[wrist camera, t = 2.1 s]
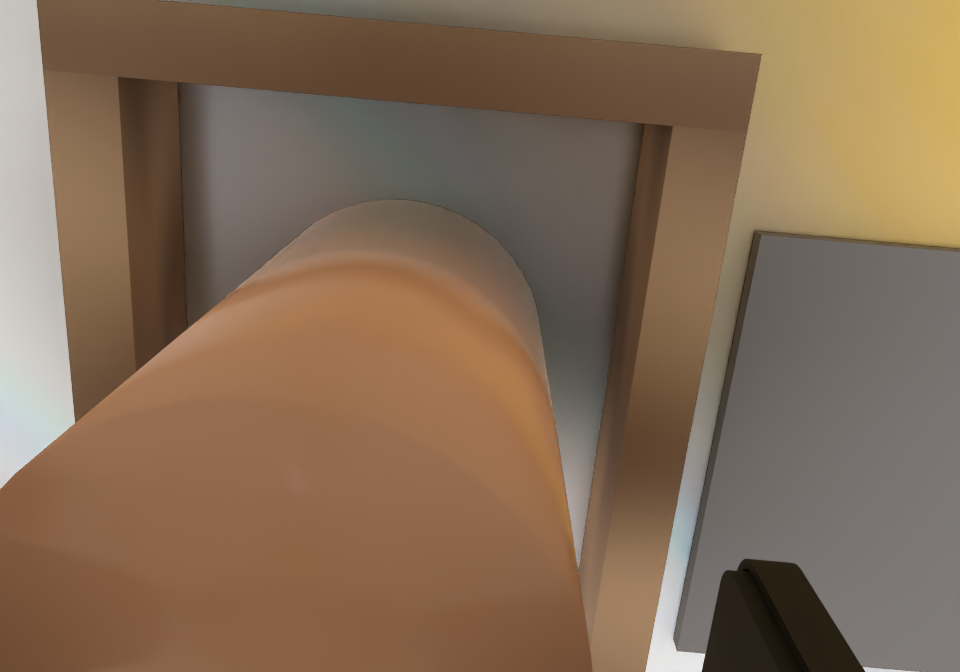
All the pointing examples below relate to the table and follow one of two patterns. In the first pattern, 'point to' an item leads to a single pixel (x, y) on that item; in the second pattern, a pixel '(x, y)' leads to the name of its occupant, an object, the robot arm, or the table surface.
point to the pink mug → (314, 478)
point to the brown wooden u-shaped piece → (425, 80)
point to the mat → (842, 445)
